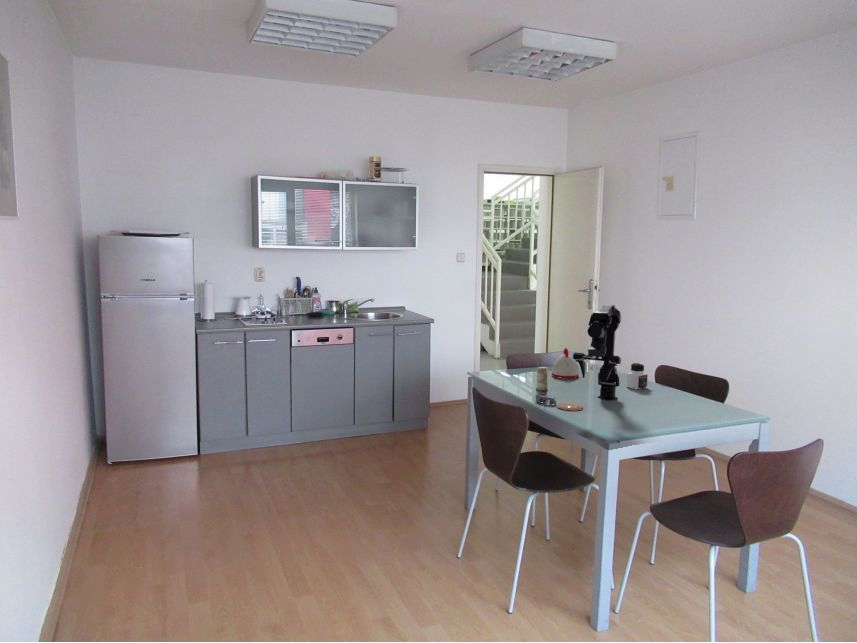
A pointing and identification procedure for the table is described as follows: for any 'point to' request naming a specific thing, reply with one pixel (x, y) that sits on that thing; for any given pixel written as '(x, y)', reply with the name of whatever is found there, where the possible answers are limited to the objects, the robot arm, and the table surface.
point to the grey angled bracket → (545, 398)
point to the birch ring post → (542, 380)
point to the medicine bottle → (637, 377)
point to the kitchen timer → (565, 366)
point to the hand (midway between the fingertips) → (594, 379)
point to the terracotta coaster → (570, 406)
